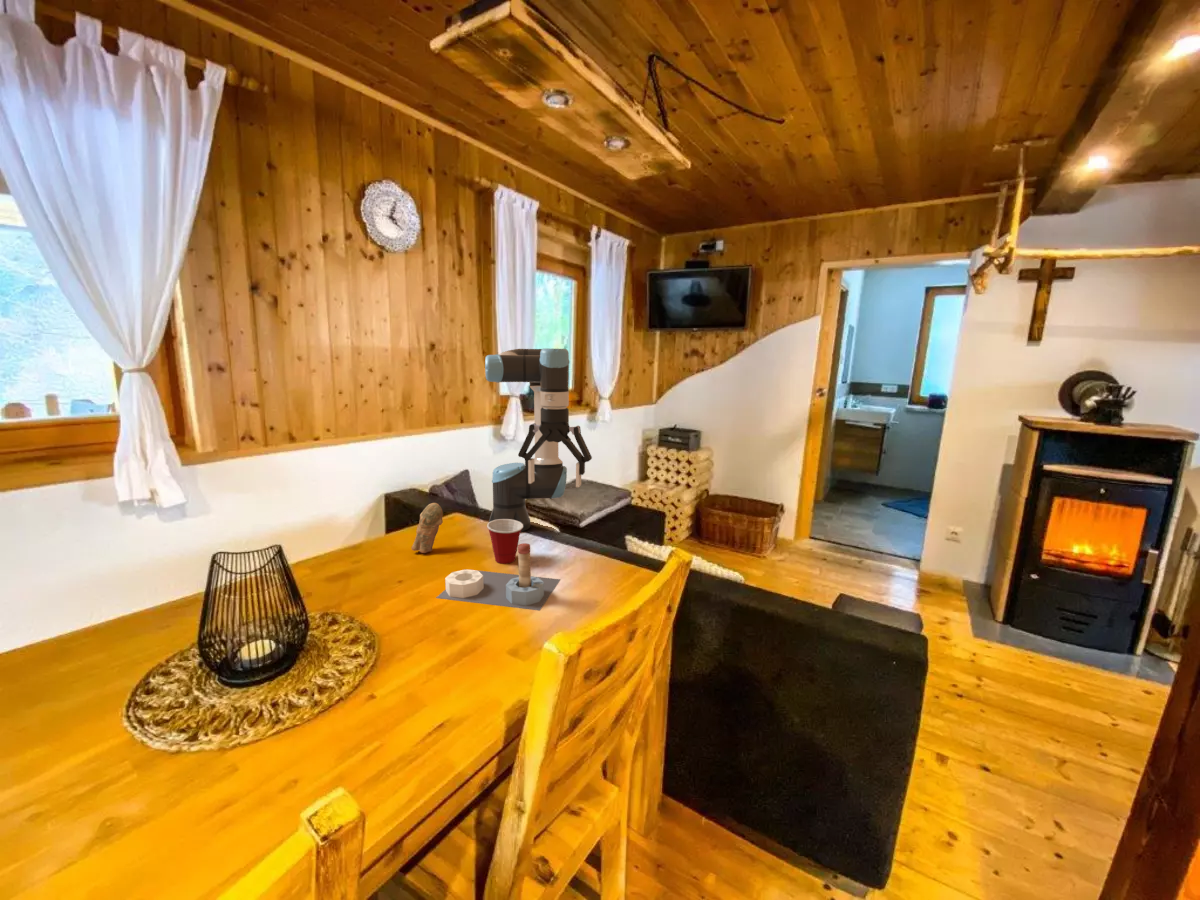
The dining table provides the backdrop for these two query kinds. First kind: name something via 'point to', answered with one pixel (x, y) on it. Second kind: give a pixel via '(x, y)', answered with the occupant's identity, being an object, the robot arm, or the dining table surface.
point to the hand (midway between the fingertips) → (554, 484)
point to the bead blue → (525, 592)
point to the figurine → (428, 528)
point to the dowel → (524, 565)
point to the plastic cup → (504, 539)
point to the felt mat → (502, 591)
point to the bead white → (464, 583)
